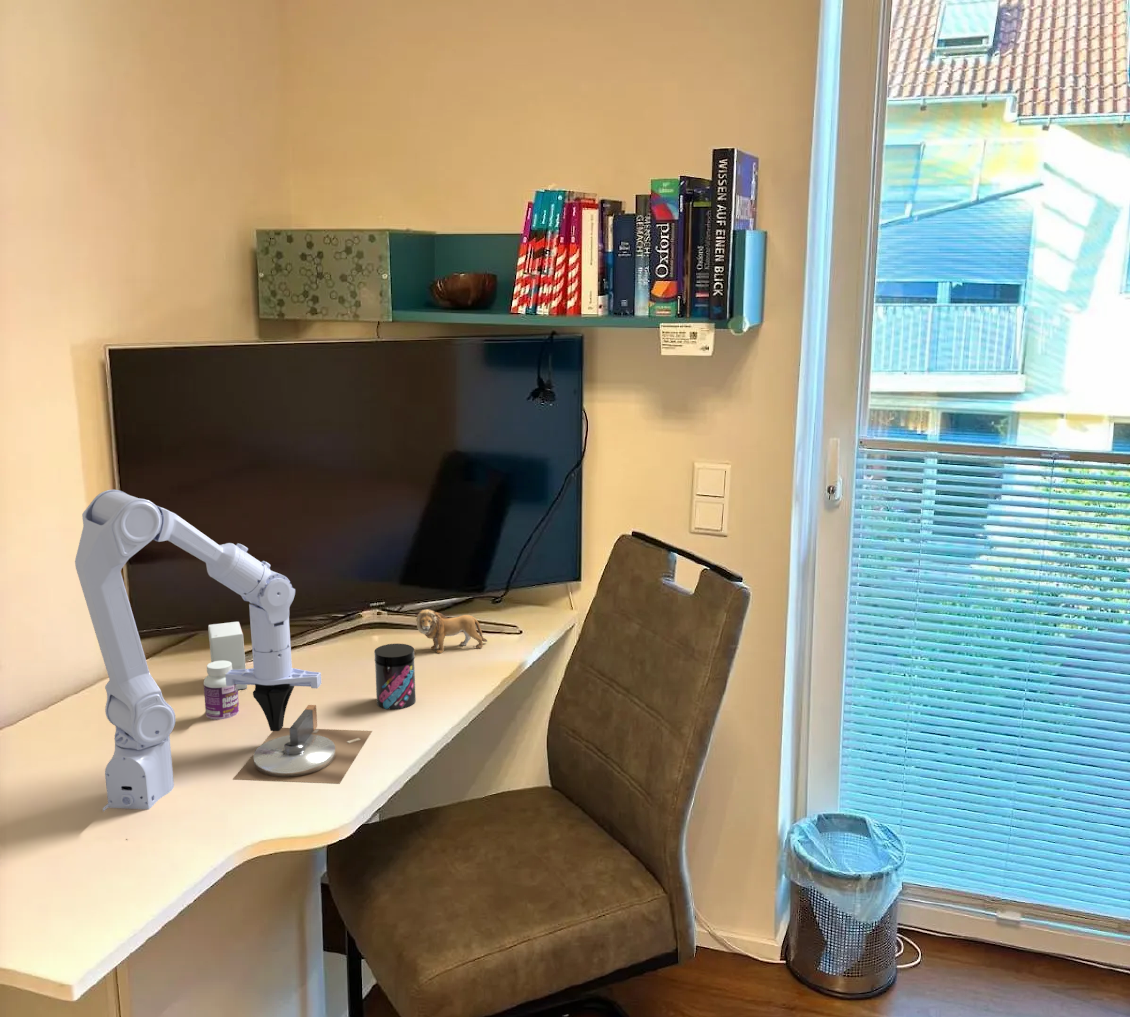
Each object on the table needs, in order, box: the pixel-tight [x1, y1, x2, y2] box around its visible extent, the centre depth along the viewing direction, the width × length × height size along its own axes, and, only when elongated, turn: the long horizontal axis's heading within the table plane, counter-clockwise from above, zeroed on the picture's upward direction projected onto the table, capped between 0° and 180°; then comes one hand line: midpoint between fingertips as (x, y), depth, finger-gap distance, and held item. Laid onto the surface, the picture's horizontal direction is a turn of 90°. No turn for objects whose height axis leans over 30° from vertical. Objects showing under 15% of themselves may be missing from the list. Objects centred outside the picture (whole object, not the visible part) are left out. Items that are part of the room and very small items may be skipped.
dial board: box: [232, 727, 373, 785], centre depth 162 cm, size 18×16×1 cm
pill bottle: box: [203, 661, 240, 720], centre depth 177 cm, size 5×5×10 cm
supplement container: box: [373, 643, 417, 711], centre depth 181 cm, size 7×7×10 cm
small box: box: [207, 621, 248, 691], centre depth 192 cm, size 8×6×10 cm
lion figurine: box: [415, 609, 488, 654], centre depth 209 cm, size 15×5×9 cm, turn 117°
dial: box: [253, 704, 335, 777], centre depth 161 cm, size 15×12×5 cm
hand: (276, 728), depth 165 cm, fingers closed
